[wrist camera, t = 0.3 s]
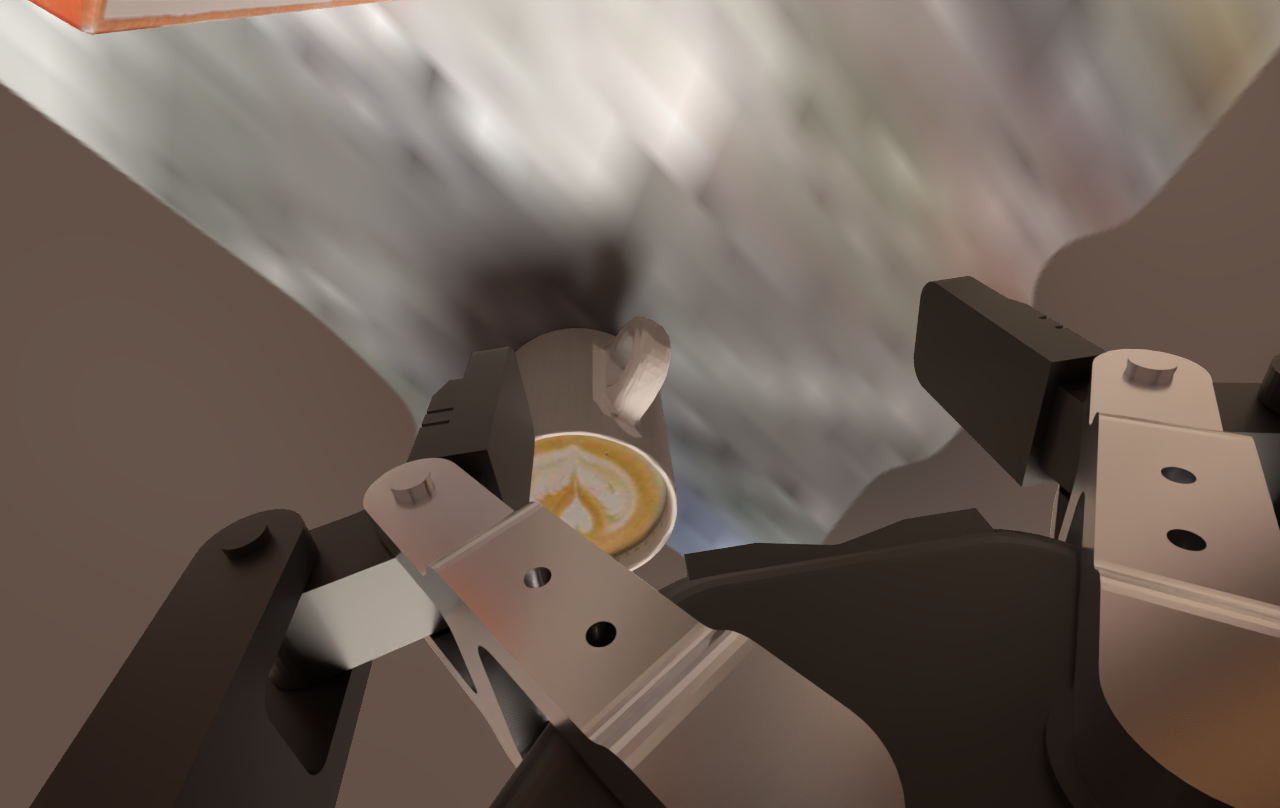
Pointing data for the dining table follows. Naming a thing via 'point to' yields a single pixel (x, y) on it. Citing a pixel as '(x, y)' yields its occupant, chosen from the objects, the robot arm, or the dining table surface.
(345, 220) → the dining table surface
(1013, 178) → the dining table surface
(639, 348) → the coffee mug
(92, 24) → the cracker box
